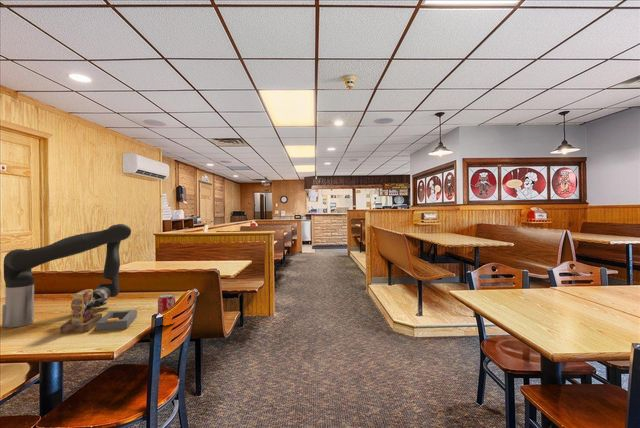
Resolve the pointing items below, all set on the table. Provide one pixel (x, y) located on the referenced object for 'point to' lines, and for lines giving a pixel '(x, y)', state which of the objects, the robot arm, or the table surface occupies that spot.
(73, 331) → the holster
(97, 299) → the robot arm
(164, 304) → the soda can
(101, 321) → the dock
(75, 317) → the candy box
